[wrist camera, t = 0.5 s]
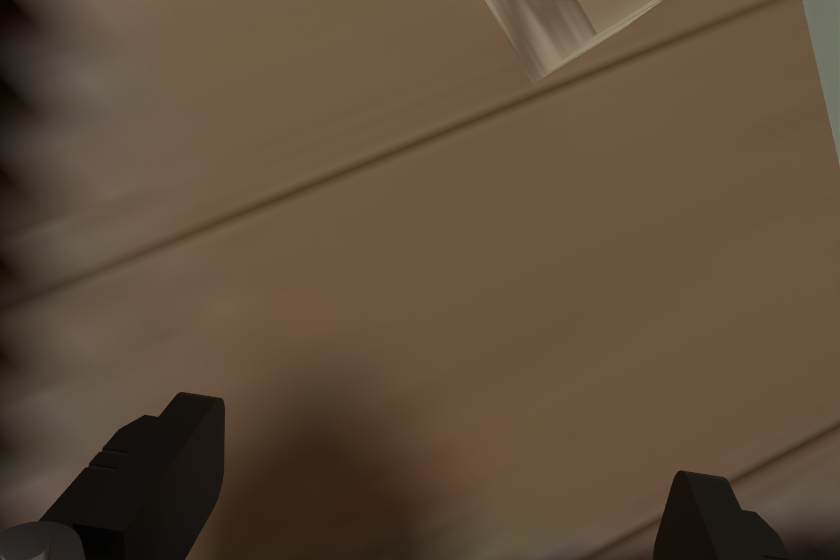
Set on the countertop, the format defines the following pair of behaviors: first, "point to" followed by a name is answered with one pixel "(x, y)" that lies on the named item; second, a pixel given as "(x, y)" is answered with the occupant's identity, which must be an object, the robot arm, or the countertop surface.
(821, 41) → the base slab
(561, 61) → the maple block
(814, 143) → the countertop surface
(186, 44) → the countertop surface
